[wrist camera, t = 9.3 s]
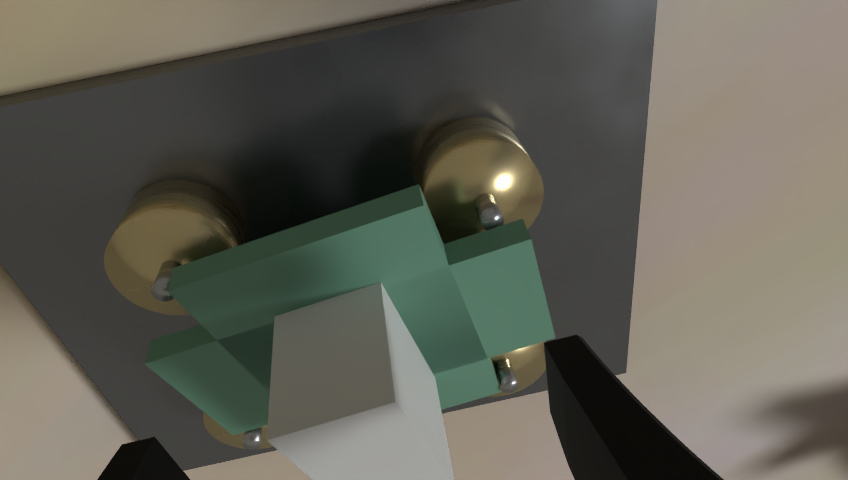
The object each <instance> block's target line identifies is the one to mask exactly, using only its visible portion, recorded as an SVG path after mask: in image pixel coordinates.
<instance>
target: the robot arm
mask: <svg viewBox="0 0 848 480" xmlns="http://www.w3.org/2000/svg"><path fill="white" fill-rule="evenodd" d="M544 352H545V363H546V373H547V383H548V393H549V404H550V412H551V415H552V418H553V421H554V424H555V427H556V430H557V433H558V436H559V439H560V442H561V445H562V448H563V451H564V454H565V457H566V459H567V462H568V465H569V467H570V470H571V472H572V474H573V476H574V479H575V480H723V479H722V478H721V477H720V476H719V475H718V474H717V473H715V472H714V471H713V470H712V469H711V468H710V467H709V466H707V465H706V464H705V463H704V462H703V461H702V460H701V459H700V458H698V457H697V456H696V455H695V454H694V453H693V452H692V451H691V450H690V449H688V448H687V447H686V446H685V445H684V444H683V443H682V442H681V441H680V440H679V439H678V438H677V437H676V436H674V435H673V434H672V433H671V432H670V431H669V430H668V429H667V428H666V427H665V426H664V425H663V424H662V423H661V422H660V421H659V420H658V419H657V418H656V417H655V416H654V415H653V414H652V413H651V412H650V411H649V410H648V409H647V408H646V407H645V406H644V405H643V404H642V403H641V402H640V401H639V400H638V399H637V398H636V397H635V396H634V395H633V394H632V393H631V392H630V391H629V390H628V389H627V388H626V387H625V386H624V385H623V384H622V382H621V381H620V380H619V379H618V378H617V377H616V376H615V375H614V374H613V373H612V372H611V371H610V369H609V368H608V367H607V366H606V365H605V364H604V363H603V362H602V360H601V359H600V358H599V357H598V356H597V355H596V353H595V352H594V351H593V350H592V349H591V348H590V346H589V345H588V344H587V343H586V341H585V340H584V339H583V338H582V337H580V336H578V335H573V336H569V337H565V338H561V339H556V340H552V341H548V342H544ZM98 480H190V479H189V478H188V476H187V475H186V474H185V473H184V472H183V470H182V469H181V468H180V467H179V466H178V464H177V463H176V462H175V461H174V459H173V458H172V457H171V456H170V455H169V453H168V452H167V451H166V450H165V449H164V447H163V446H162V445H161V444H160V442H159V441H158V440H157V439H156V438H155V437H151V438H147V439H143V440H139V441H135V442H131V443H127V444H122V445H121V447H120V448H119V450H118V451H117V452H116V454H115V455H114V457H113V458H112V459H111V461H110V462H109V464H108V465H107V466H106V468H105V469H104V471H103V472H102V474H101V475H100V477H99V478H98Z"/></svg>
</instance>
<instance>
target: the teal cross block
mask: <svg viewBox="0 0 848 480" xmlns="http://www.w3.org/2000/svg"><path fill="white" fill-rule="evenodd" d="M167 292H168V293H169V294H170V295H171V296H172V297H173V298H174V299H175V300H176V301H177V302H179V303H180V304H181V305H182V306H183V307H184V308H185V309H186V310H187V311H188V312H189V313H190V314H191V315H192V316H193V317H194V318H195V319H196V320H197V321H198V322H199V323H200V324H199V325H196V326H193V327H190V328H187V329H184V330H181V331H178V332H175V333H172V334H169V335H166V336H162V337H159V338H156V339H153V340H150V344H149V348H148V352H147V356H146V360H145V365H146V366H148V367H149V368H150V369H151V370H152V371H154V372H155V373H156V374H157V375H159V376H160V377H161V378H162V379H164V380H165V381H166V382H167V383H169V384H170V385H171V386H172V387H174V388H175V389H176V390H177V391H179V392H180V393H181V394H182V395H184V396H185V397H186V398H187V399H189V400H190V401H191V402H192V403H194V404H195V405H196V406H197V407H198V408H200V409H201V410H202V411H203V412H205V413H206V414H207V415H208V416H210V417H211V418H212V419H213V420H215V421H216V422H217V423H218V424H220V425H221V426H222V427H223V428H225V429H226V430H227V431H228V432H230V433H231V434H232V435H236V434H239V433H243V432H246V431H249V430H253V429H256V428H259V427H263V426H266V425H268V428H267V441H268V442H269V443H270V444H271V445H273V446H274V447H275V448H276V449H277V450H278V451H279V452H281V453H282V454H283V455H284V456H285V457H286V458H288V459H289V460H290V461H291V462H292V463H293V464H295V465H296V466H297V467H298V468H299V469H300V470H302V471H303V472H304V473H305V474H306V475H307V476H309V477H310V478H311V479H312V480H454V477H453V471H452V466H451V460H450V455H449V450H448V444H447V439H446V433H445V428H444V423H443V417H442V412H441V410H442V409H446V408H449V407H453V406H456V405H459V404H463V403H466V402H470V401H473V400H476V399H480V398H483V397H486V396H490V395H493V394H497V393H500V392H502V391H501V388H500V384H499V380H498V377H497V374H496V371H495V368H494V366H493V363H492V361H491V357H494V356H497V355H501V354H504V353H507V352H511V351H514V350H517V349H521V348H524V347H527V346H531V345H534V344H537V343H540V342H544V341H547V340H550V339H554V338H555V333H554V329H553V325H552V321H551V317H550V313H549V309H548V305H547V301H546V297H545V293H544V289H543V285H542V281H541V277H540V273H539V269H538V264H537V260H536V256H535V252H534V248H533V244H532V240H531V237H530V235H529V232H528V230H527V228H526V225H525V223H524V220H523V219H520V220H517V221H513V222H510V223H507V224H504V225H501V226H498V227H495V228H492V229H489V230H486V231H483V232H480V233H477V234H474V235H471V236H468V237H465V238H462V239H459V240H455V241H452V242H449V243H446V244H443V242H442V239H441V237H440V234H439V232H438V229H437V227H436V225H435V222H434V220H433V217H432V215H431V212H430V210H429V208H428V205H427V203H426V200H425V198H424V195H423V193H422V191H421V188H420V186H419V184H418V185H415V186H412V187H409V188H406V189H403V190H400V191H397V192H394V193H392V194H389V195H386V196H383V197H380V198H377V199H374V200H371V201H368V202H365V203H362V204H359V205H356V206H353V207H350V208H348V209H345V210H342V211H339V212H336V213H333V214H330V215H327V216H324V217H321V218H318V219H315V220H312V221H309V222H307V223H304V224H301V225H298V226H295V227H292V228H289V229H286V230H283V231H280V232H277V233H274V234H271V235H268V236H265V237H263V238H260V239H257V240H254V241H251V242H248V243H245V244H242V245H239V246H236V247H233V248H230V249H227V250H224V251H222V252H219V253H216V254H213V255H210V256H207V257H204V258H201V259H198V260H195V261H192V262H189V263H186V264H183V265H180V266H178V267H175V268H173V271H172V275H171V279H170V283H169V287H168V291H167Z"/></svg>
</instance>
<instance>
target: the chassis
mask: <svg viewBox="0 0 848 480" xmlns="http://www.w3.org/2000/svg"><path fill="white" fill-rule="evenodd" d="M656 9H657V0H469V1H465V2H460V3H455V4H450V5H445V6H440V7H435V8H430V9H426V10H421V11H416V12H411V13H406V14H401V15H396V16H391V17H387V18H382V19H377V20H372V21H367V22H362V23H357V24H352V25H348V26H343V27H338V28H333V29H328V30H323V31H318V32H313V33H309V34H304V35H299V36H294V37H289V38H284V39H279V40H274V41H270V42H265V43H260V44H255V45H250V46H245V47H240V48H236V49H231V50H226V51H221V52H216V53H211V54H206V55H201V56H197V57H192V58H187V59H182V60H177V61H172V62H167V63H162V64H158V65H153V66H148V67H143V68H138V69H133V70H128V71H123V72H119V73H114V74H109V75H104V76H99V77H94V78H89V79H84V80H80V81H75V82H70V83H65V84H60V85H55V86H50V87H45V88H41V89H36V90H31V91H26V92H21V93H16V94H11V95H6V96H2V97H0V263H1V265H2V266H3V267H4V269H5V270H6V271H7V272H8V274H9V275H10V276H11V278H12V279H13V280H14V281H15V283H16V284H17V285H18V286H19V288H20V289H21V290H22V292H23V293H24V294H25V295H26V297H27V298H28V299H29V301H30V302H31V303H32V304H33V306H34V307H35V308H36V309H37V311H38V312H39V313H40V315H41V316H42V317H43V318H44V320H45V321H46V322H47V324H48V325H49V326H50V327H51V329H52V330H53V331H54V332H55V334H56V335H57V336H58V338H59V339H60V340H61V341H62V343H63V344H64V345H65V347H66V348H67V349H68V350H69V352H70V353H71V354H72V356H73V357H74V358H75V359H76V361H77V362H78V363H79V364H80V366H81V367H82V368H83V370H84V371H85V372H86V373H87V375H88V376H89V377H90V379H91V380H92V381H93V382H94V384H95V385H96V386H97V387H98V389H99V390H100V391H101V393H102V394H103V395H104V396H105V398H106V399H107V400H108V402H109V403H110V404H111V405H112V407H113V408H114V409H115V410H116V412H117V413H118V414H119V416H120V417H121V418H122V419H123V421H124V422H125V423H126V425H127V426H128V427H129V428H130V430H131V431H132V432H133V433H134V435H135V436H136V437H137V439H138V440H143V439H147V438H151V437H155V438H156V439H157V440H158V441H159V442H160V444H161V445H162V446H163V447H164V449H165V450H166V451H167V452H168V453H169V455H170V456H171V457H172V458H173V459H174V461H175V462H176V463H177V464H178V466H179V467H180V468H181V469H182V470H183V471H184V470H189V469H193V468H198V467H202V466H207V465H211V464H216V463H220V462H225V461H230V460H234V459H239V458H243V457H248V456H252V455H257V454H261V453H266V452H270V451H275V450H277V449H276V448H275V447H274V446H273V445H271V444H270V443H269V442H268V441H267V428H268V425H266V426H263V427H259V428H256V429H253V430H249V431H246V432H243V433H239V434H236V435H232V434H231V433H230V432H228V431H227V430H226V429H225V428H223V427H222V426H221V425H220V424H218V423H217V422H216V421H215V420H213V419H212V418H211V417H210V416H208V415H207V414H206V413H205V412H203V411H202V410H201V409H200V408H198V407H197V406H196V405H195V404H194V403H192V402H191V401H190V400H189V399H187V398H186V397H185V396H184V395H182V394H181V393H180V392H179V391H177V390H176V389H175V388H174V387H172V386H171V385H170V384H169V383H167V382H166V381H165V380H164V379H162V378H161V377H160V376H159V375H157V374H156V373H155V372H154V371H152V370H151V369H150V368H149V367H148V366H146V365H145V360H146V356H147V352H148V348H149V344H150V340H153V339H156V338H159V337H162V336H166V335H169V334H172V333H175V332H178V331H181V330H184V329H187V328H190V327H193V326H196V325H199V324H200V323H199V322H198V321H197V320H196V319H195V318H194V317H193V316H192V315H191V314H190V313H189V312H188V311H187V310H186V309H185V308H184V307H183V306H182V305H181V304H180V303H179V302H177V301H176V300H175V299H174V298H173V297H172V296H171V295H170V294H169V293H168V292H167V291H168V287H169V283H170V279H171V275H172V271H173V268H175V267H178V266H180V265H183V264H186V263H189V262H192V261H195V260H198V259H201V258H204V257H207V256H210V255H213V254H216V253H219V252H222V251H224V250H227V249H230V248H233V247H236V246H239V245H242V244H245V243H248V242H251V241H254V240H257V239H260V238H263V237H265V236H268V235H271V234H274V233H277V232H280V231H283V230H286V229H289V228H292V227H295V226H298V225H301V224H304V223H307V222H309V221H312V220H315V219H318V218H321V217H324V216H327V215H330V214H333V213H336V212H339V211H342V210H345V209H348V208H350V207H353V206H356V205H359V204H362V203H365V202H368V201H371V200H374V199H377V198H380V197H383V196H386V195H389V194H392V193H394V192H397V191H400V190H403V189H406V188H409V187H412V186H415V185H418V184H419V186H420V188H421V191H422V193H423V195H424V198H425V200H426V203H427V205H428V208H429V210H430V212H431V215H432V217H433V220H434V222H435V225H436V227H437V229H438V232H439V234H440V237H441V239H442V242H443V244H446V243H449V242H452V241H455V240H459V239H462V238H465V237H468V236H471V235H474V234H477V233H480V232H483V231H486V230H489V229H492V228H495V227H498V226H501V225H504V224H507V223H510V222H513V221H517V220H520V219H523V220H524V223H525V225H526V228H527V230H528V232H529V235H530V237H531V240H532V244H533V248H534V252H535V256H536V260H537V264H538V269H539V273H540V277H541V281H542V285H543V289H544V293H545V297H546V301H547V305H548V309H549V313H550V317H551V321H552V325H553V329H554V333H555V338H554V339H550V340H547V341H544V342H548V341H552V340H556V339H561V338H565V337H569V336H573V335H578V336H580V337H582V338H583V339H584V340H585V341H586V343H587V344H588V345H589V346H590V348H591V349H592V350H593V351H594V352H595V353H596V355H597V356H598V357H599V358H600V359H601V360H602V362H603V363H604V364H605V365H606V366H607V367H608V368H609V369H610V371H611V372H612V373H613V374H614V375H618V374H623V373H626V367H627V355H628V343H629V331H630V319H631V307H632V295H633V283H634V271H635V259H636V247H637V236H638V224H639V212H640V200H641V188H642V176H643V164H644V152H645V140H646V128H647V116H648V104H649V92H650V81H651V69H652V57H653V45H654V33H655V21H656ZM544 342H540V343H537V344H534V345H531V346H527V347H524V348H521V349H517V350H514V351H511V352H507V353H504V354H501V355H497V356H494V357H491V361H492V363H493V366H494V368H495V371H496V374H497V377H498V380H499V384H500V388H501V391H502V392H500V393H497V394H493V395H490V396H486V397H483V398H480V399H476V400H473V401H470V402H466V403H463V404H459V405H456V406H453V407H449V408H446V409H442V410H441V412H442V413H446V412H451V411H456V410H460V409H465V408H469V407H474V406H478V405H483V404H487V403H492V402H496V401H501V400H505V399H510V398H514V397H519V396H523V395H528V394H532V393H537V392H541V391H546V390H548V383H547V373H546V363H545V352H544Z"/></svg>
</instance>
